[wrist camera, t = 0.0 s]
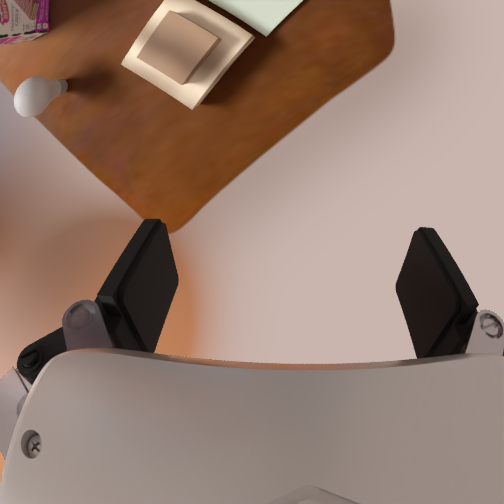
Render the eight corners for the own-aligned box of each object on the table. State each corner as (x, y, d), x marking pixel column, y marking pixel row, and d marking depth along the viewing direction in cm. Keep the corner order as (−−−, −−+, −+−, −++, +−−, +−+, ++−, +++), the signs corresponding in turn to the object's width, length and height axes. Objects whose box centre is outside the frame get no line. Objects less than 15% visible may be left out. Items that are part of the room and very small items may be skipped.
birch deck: (183, -5, 25) (173, -11, 22) (255, 37, 29) (252, 35, 26) (134, 62, 31) (120, 64, 28) (200, 104, 35) (192, 109, 32)
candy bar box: (51, 31, 26) (-24, 43, 13) (32, 41, 27) (-41, 58, 14) (53, -22, 19) (-19, -24, 6) (33, -10, 20) (-37, -5, 7)
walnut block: (176, 12, 24) (169, 10, 22) (222, 39, 26) (218, 37, 25) (144, 56, 28) (136, 57, 26) (187, 83, 30) (181, 85, 28)
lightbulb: (84, 90, 34) (38, 106, 25) (60, 109, 35) (16, 130, 27) (70, 61, 30) (22, 72, 22) (47, 82, 32) (1, 98, 23)
